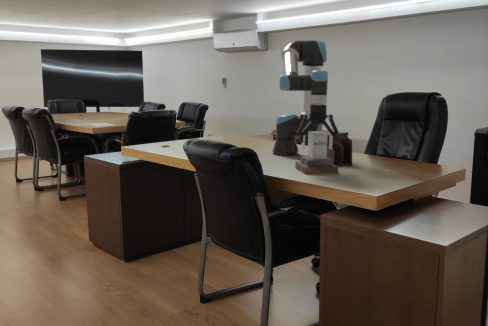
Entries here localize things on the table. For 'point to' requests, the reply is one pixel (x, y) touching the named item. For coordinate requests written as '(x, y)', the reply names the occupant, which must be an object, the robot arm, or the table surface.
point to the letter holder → (341, 152)
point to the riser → (316, 166)
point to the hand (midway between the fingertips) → (316, 149)
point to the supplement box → (317, 144)
